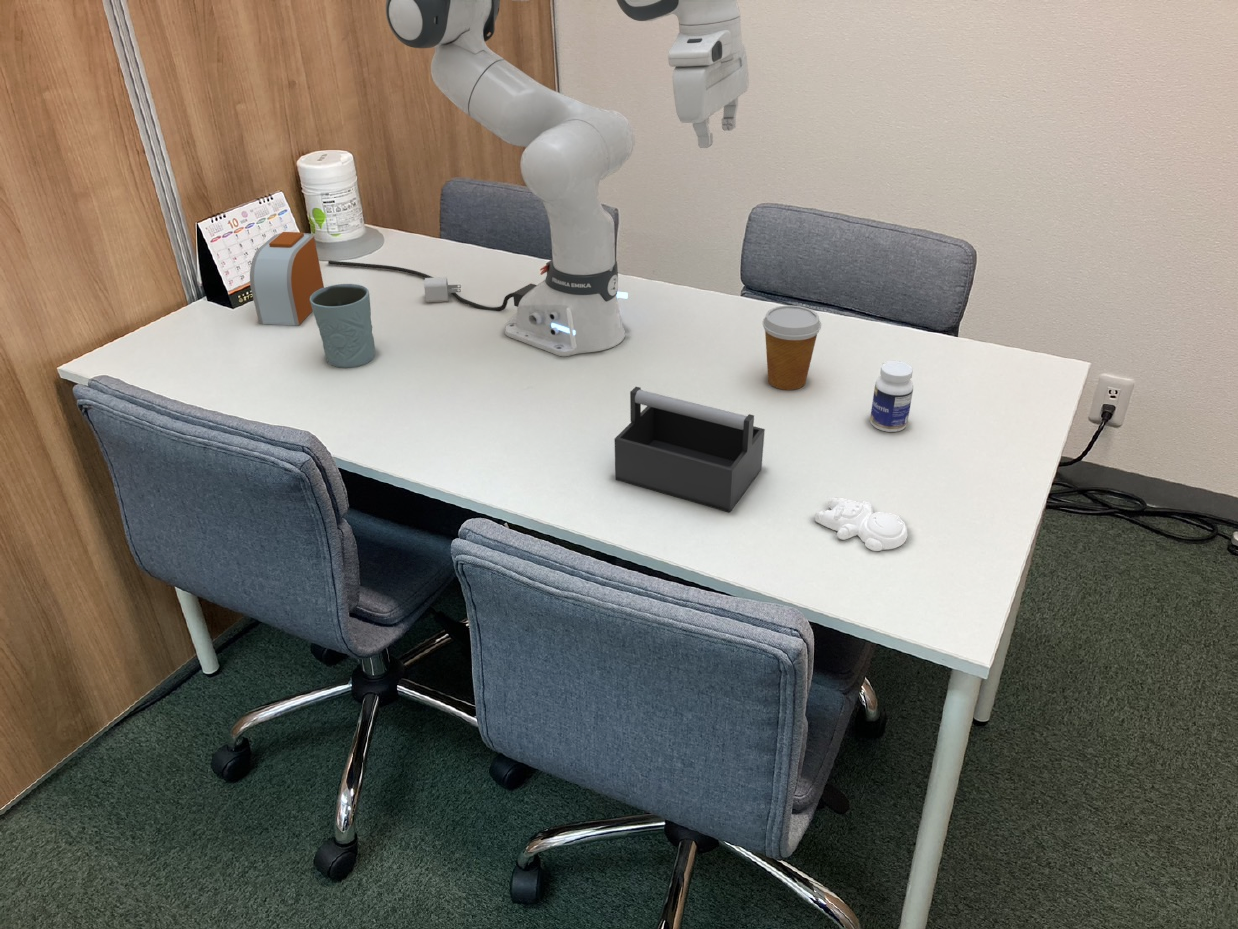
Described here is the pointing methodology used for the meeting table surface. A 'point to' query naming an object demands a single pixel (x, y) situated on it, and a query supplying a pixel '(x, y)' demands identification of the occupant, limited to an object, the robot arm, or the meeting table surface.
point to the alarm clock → (285, 278)
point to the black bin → (688, 450)
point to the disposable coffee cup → (790, 344)
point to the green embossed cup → (344, 324)
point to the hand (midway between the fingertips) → (717, 137)
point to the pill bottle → (892, 397)
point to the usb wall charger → (438, 289)
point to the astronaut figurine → (863, 524)
